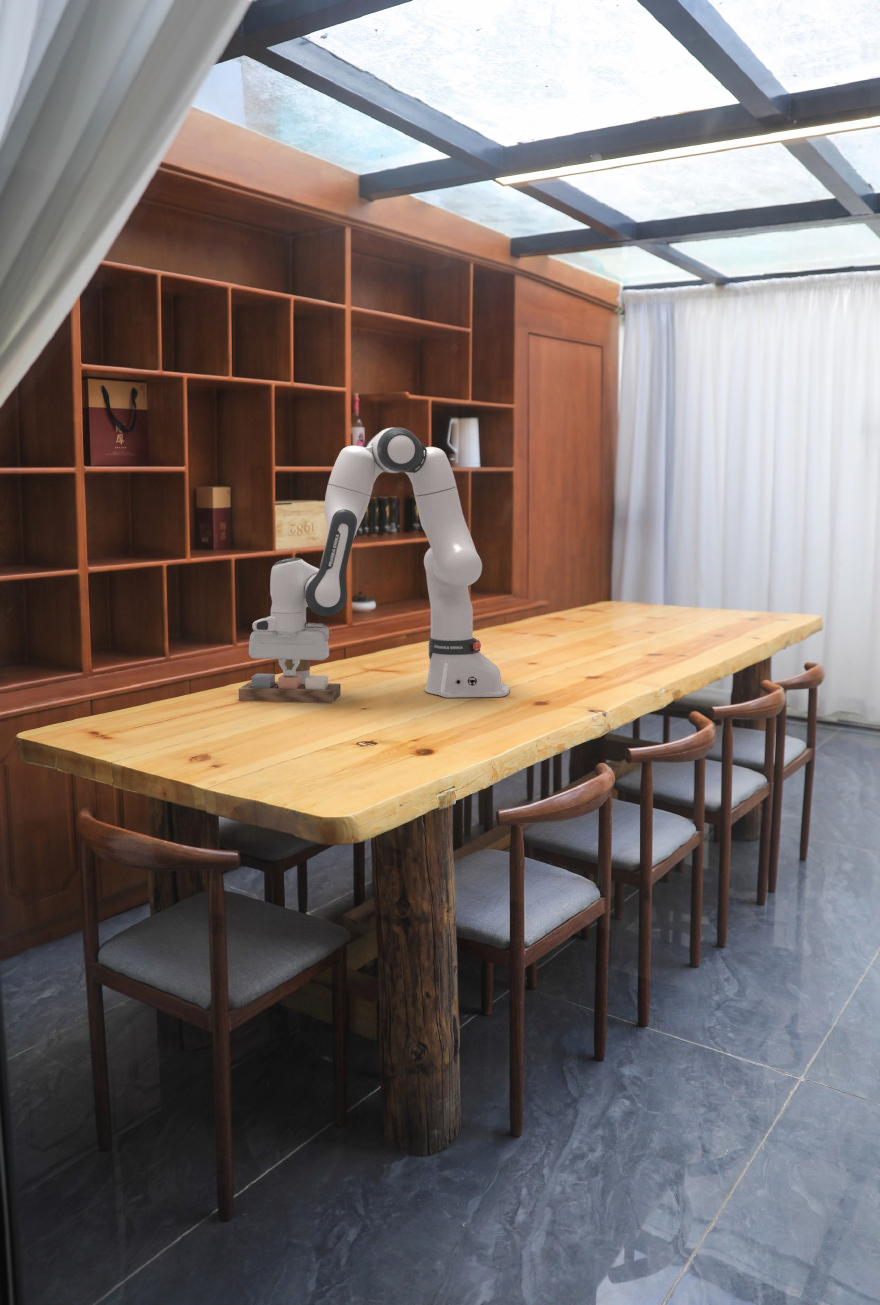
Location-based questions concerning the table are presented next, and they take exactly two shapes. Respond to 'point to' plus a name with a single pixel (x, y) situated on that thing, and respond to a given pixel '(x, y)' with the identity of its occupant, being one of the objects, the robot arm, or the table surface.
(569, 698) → the table surface
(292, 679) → the terracotta key
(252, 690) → the tray
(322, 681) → the ivory key
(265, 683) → the slate key
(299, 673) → the coffee cup
